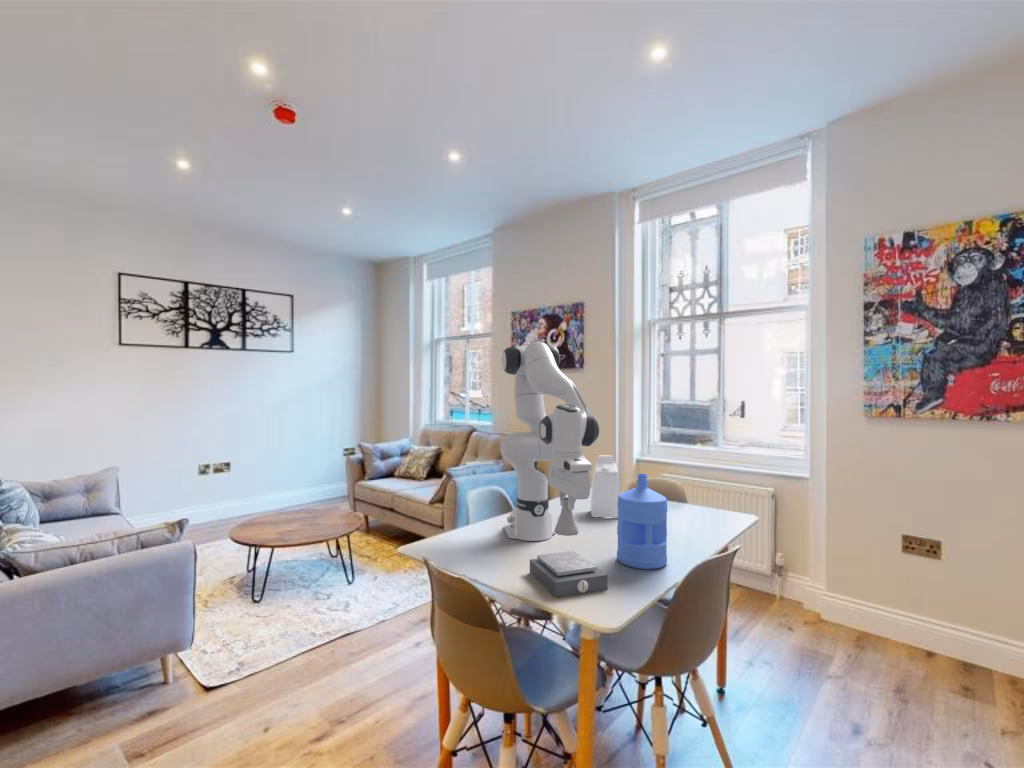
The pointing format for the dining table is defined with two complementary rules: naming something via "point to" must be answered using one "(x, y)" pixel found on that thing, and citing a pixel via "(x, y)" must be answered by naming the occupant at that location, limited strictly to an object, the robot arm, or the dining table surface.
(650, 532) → the water jug
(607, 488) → the milk
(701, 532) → the dining table surface
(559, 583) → the base
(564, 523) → the flask
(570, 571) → the pan
